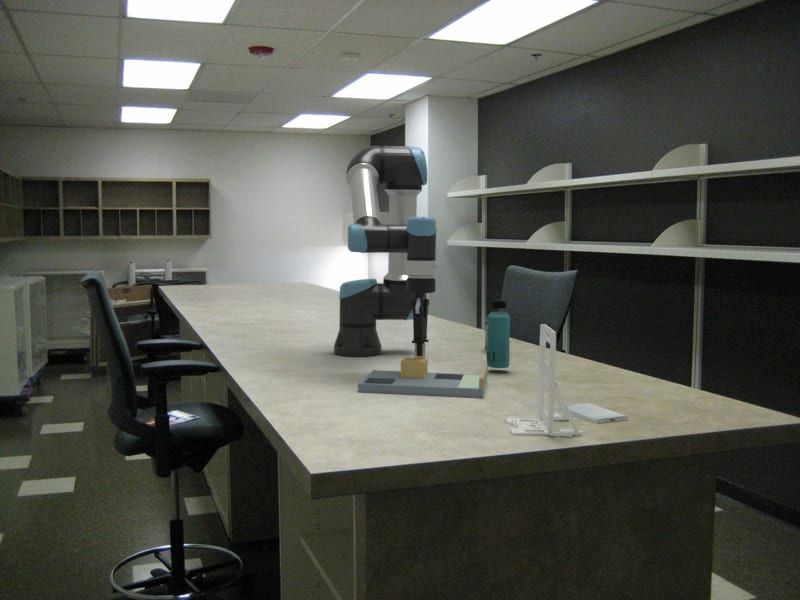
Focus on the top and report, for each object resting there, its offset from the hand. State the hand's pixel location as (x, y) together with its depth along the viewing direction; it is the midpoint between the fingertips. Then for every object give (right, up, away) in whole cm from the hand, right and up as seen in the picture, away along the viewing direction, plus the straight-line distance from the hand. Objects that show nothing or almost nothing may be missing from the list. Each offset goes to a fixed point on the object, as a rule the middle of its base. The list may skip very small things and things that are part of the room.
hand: (419, 367), depth 194 cm
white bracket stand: (+23, -8, -45) cm, 51 cm away
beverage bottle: (+22, -3, +14) cm, 26 cm away
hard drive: (+36, -8, -35) cm, 50 cm away
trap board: (+1, -4, -8) cm, 9 cm away
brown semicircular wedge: (+26, +1, +48) cm, 55 cm away
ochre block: (-2, -2, -3) cm, 4 cm away
